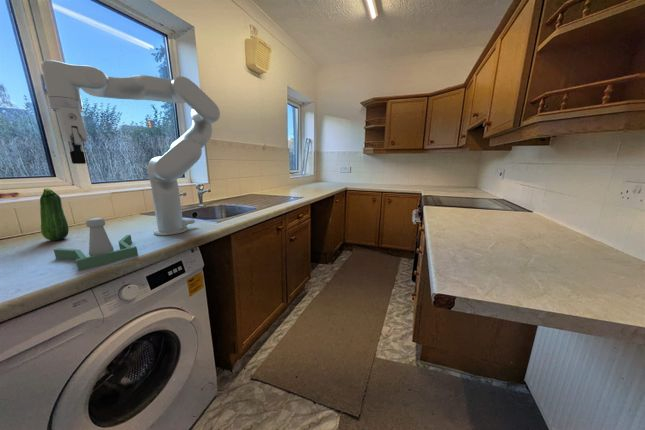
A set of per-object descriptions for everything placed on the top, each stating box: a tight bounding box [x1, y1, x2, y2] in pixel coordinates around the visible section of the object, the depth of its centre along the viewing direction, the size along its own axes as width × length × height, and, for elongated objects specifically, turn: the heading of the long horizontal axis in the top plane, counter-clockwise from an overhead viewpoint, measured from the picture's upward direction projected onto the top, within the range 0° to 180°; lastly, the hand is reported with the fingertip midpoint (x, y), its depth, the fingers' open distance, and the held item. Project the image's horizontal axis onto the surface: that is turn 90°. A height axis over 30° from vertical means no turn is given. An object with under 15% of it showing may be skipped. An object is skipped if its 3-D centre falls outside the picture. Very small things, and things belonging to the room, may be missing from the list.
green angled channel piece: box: [53, 234, 139, 271], centre depth 80 cm, size 20×18×3 cm
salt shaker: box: [85, 217, 115, 257], centre depth 76 cm, size 6×6×13 cm
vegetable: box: [39, 188, 70, 241], centre depth 93 cm, size 7×7×20 cm
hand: (79, 163), depth 84 cm, fingers closed
